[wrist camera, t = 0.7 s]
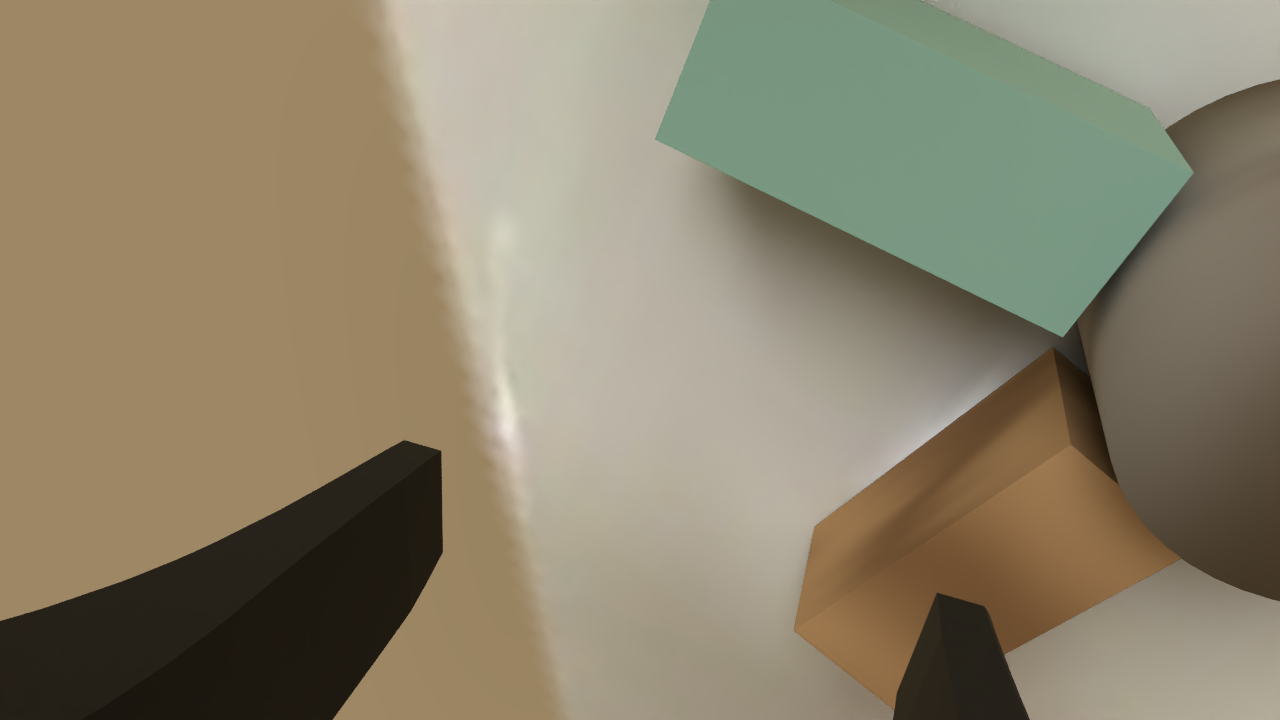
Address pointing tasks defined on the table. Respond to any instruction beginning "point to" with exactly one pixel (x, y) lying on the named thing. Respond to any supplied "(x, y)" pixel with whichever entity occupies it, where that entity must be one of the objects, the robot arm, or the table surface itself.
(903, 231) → the folding leg
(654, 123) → the table surface
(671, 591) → the table surface
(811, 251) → the table surface
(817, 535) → the stool base
